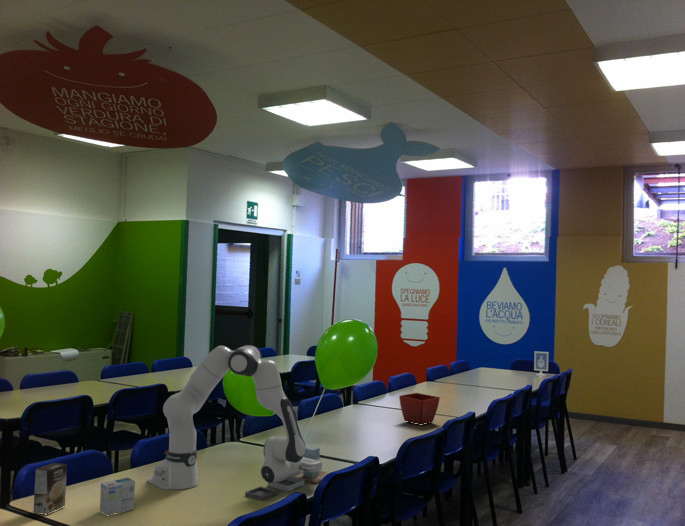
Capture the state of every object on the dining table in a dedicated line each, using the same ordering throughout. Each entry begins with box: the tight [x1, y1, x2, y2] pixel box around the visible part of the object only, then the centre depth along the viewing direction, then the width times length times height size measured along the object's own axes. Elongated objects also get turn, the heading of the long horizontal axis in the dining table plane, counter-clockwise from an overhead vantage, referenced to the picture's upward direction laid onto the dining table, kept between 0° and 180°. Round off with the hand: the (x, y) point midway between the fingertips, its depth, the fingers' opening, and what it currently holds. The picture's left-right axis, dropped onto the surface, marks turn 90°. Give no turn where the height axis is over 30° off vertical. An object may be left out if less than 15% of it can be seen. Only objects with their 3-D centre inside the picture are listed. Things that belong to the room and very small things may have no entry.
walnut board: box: [293, 470, 330, 485], centre depth 274 cm, size 14×14×1 cm
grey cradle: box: [267, 477, 305, 492], centre depth 261 cm, size 11×11×2 cm
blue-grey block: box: [303, 445, 321, 478], centre depth 273 cm, size 5×5×12 cm
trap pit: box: [244, 486, 278, 502], centre depth 248 cm, size 9×9×2 cm
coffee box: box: [32, 462, 68, 514], centre depth 225 cm, size 9×6×16 cm
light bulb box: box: [99, 476, 136, 516], centre depth 227 cm, size 11×7×11 cm, turn 135°
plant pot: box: [398, 392, 441, 424], centre depth 391 cm, size 19×19×17 cm
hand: (310, 458), depth 273 cm, fingers open, 8 cm apart
